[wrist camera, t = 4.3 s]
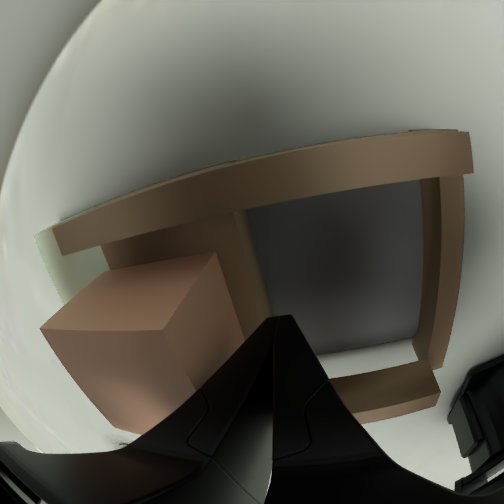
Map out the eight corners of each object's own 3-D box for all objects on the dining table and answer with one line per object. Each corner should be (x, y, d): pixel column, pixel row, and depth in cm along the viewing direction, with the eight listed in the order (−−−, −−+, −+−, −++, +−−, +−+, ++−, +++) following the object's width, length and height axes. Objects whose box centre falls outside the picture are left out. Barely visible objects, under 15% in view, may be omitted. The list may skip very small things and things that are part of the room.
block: (215, 250, 9) (162, 330, 5) (252, 363, 10) (233, 448, 7) (103, 271, 10) (39, 328, 6) (152, 363, 12) (115, 427, 8)
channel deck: (430, 129, 8) (495, 132, 4) (429, 340, 11) (455, 398, 8) (59, 222, 12) (4, 252, 8) (131, 367, 15) (103, 412, 12)
